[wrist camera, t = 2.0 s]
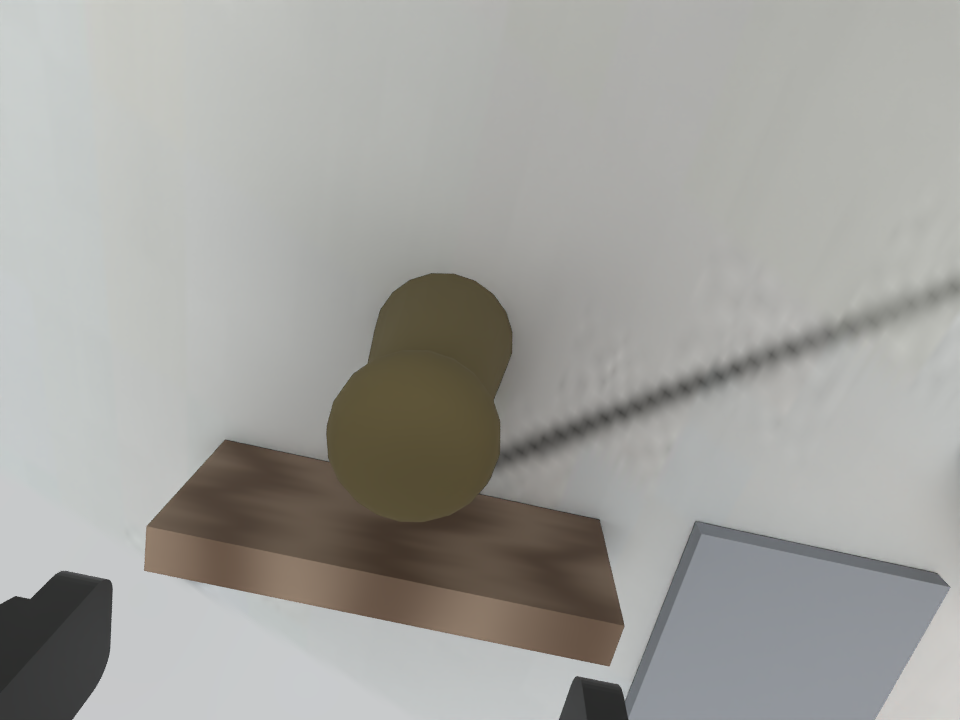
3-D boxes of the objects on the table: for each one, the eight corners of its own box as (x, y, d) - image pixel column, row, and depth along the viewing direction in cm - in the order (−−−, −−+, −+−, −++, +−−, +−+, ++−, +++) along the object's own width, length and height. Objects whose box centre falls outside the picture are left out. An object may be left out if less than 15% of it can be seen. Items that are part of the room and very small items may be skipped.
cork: (444, 430, 30) (410, 591, 19) (345, 339, 28) (252, 460, 18) (541, 343, 28) (561, 468, 18) (442, 242, 27) (400, 314, 17)
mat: (695, 521, 31) (701, 533, 30) (937, 573, 31) (950, 587, 30) (622, 708, 35) (625, 725, 34) (837, 752, 35) (846, 769, 34)
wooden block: (599, 519, 31) (624, 625, 24) (588, 554, 32) (609, 666, 25) (225, 439, 30) (146, 526, 24) (221, 476, 31) (144, 570, 24)
